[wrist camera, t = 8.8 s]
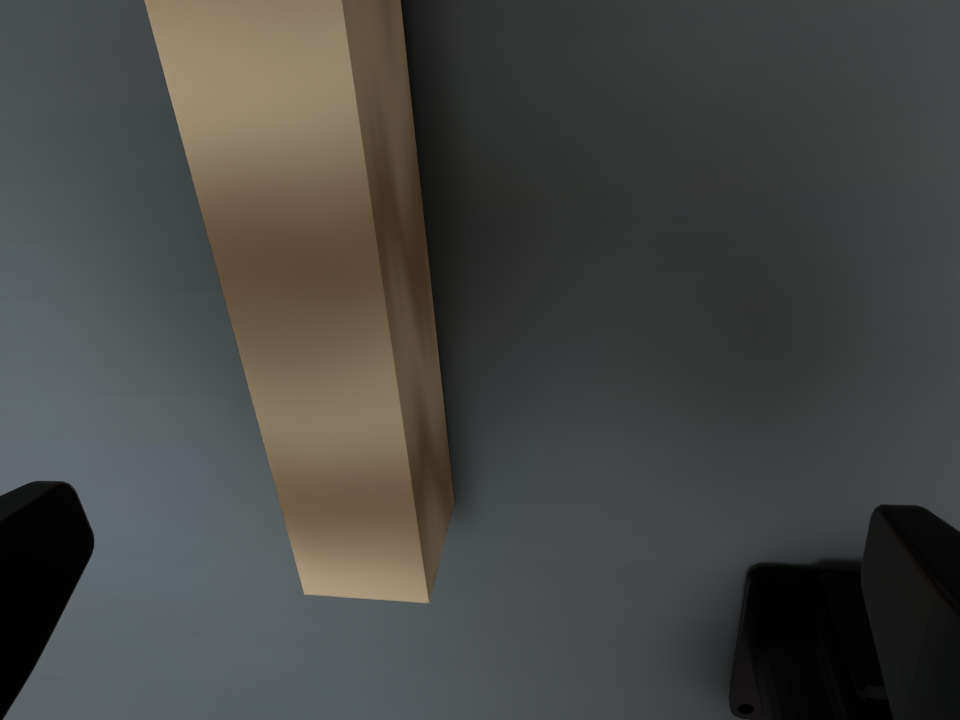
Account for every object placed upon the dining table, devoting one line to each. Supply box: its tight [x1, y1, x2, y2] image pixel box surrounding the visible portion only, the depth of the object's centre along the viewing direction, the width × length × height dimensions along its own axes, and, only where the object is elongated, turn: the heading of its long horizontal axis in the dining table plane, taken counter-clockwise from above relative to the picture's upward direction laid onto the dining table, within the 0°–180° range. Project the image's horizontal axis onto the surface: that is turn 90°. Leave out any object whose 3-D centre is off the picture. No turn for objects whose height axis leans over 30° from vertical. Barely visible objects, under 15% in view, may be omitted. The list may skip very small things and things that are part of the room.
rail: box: [144, 0, 454, 603], centre depth 16 cm, size 20×4×5 cm, turn 3°
